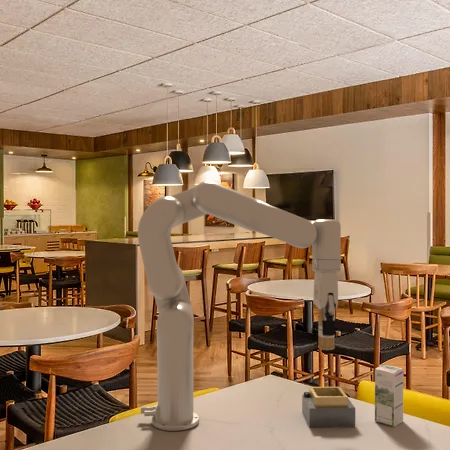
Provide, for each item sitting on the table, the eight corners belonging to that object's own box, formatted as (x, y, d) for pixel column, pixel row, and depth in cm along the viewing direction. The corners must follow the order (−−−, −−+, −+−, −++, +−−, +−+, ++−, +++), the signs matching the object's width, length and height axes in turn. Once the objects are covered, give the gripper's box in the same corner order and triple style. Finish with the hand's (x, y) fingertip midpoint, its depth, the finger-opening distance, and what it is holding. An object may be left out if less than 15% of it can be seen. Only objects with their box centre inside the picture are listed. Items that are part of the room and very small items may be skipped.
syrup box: (403, 421, 147) (404, 367, 147) (393, 427, 143) (394, 372, 142) (384, 416, 151) (384, 363, 150) (373, 422, 146) (374, 368, 146)
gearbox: (309, 427, 142) (309, 399, 142) (302, 412, 153) (302, 385, 153) (355, 427, 143) (355, 398, 143) (344, 411, 154) (345, 385, 154)
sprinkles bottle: (316, 346, 150) (316, 297, 149) (332, 346, 150) (332, 297, 150) (320, 350, 145) (320, 300, 145) (337, 350, 146) (337, 299, 145)
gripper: (306, 262, 156) (306, 326, 156) (318, 268, 139) (318, 340, 139) (333, 262, 156) (333, 326, 156) (348, 268, 139) (348, 340, 139)
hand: (326, 332), depth 148 cm, fingers closed on sprinkles bottle, 4 cm apart
